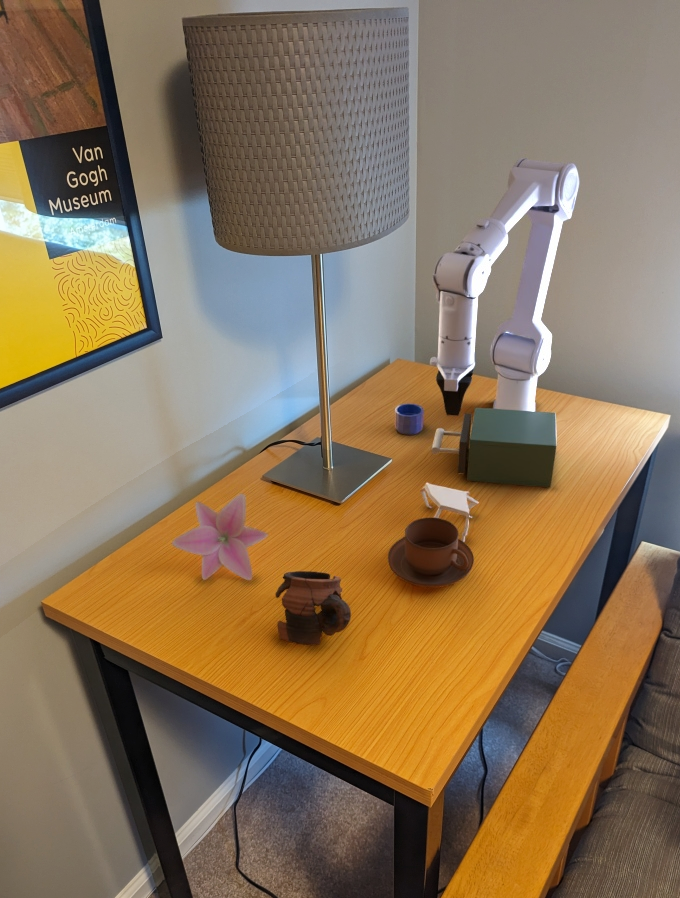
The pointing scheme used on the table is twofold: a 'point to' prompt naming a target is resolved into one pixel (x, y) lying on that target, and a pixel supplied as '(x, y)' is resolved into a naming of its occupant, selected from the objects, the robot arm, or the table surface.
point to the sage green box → (512, 447)
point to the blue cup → (409, 419)
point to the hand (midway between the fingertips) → (453, 412)
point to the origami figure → (450, 502)
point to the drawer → (463, 442)
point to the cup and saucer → (431, 554)
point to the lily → (222, 538)
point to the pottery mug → (311, 607)
